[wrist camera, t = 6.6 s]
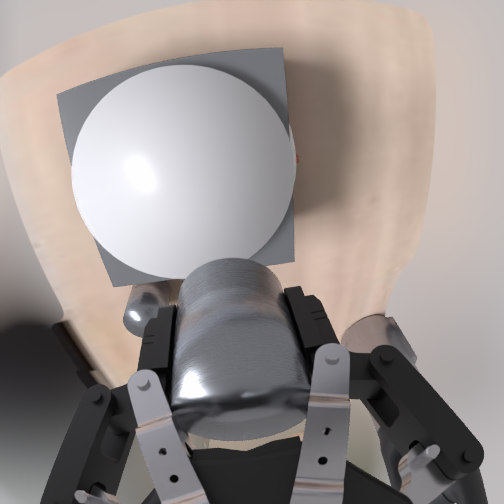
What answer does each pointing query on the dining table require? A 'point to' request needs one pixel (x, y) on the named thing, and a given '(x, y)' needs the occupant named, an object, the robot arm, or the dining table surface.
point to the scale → (184, 163)
